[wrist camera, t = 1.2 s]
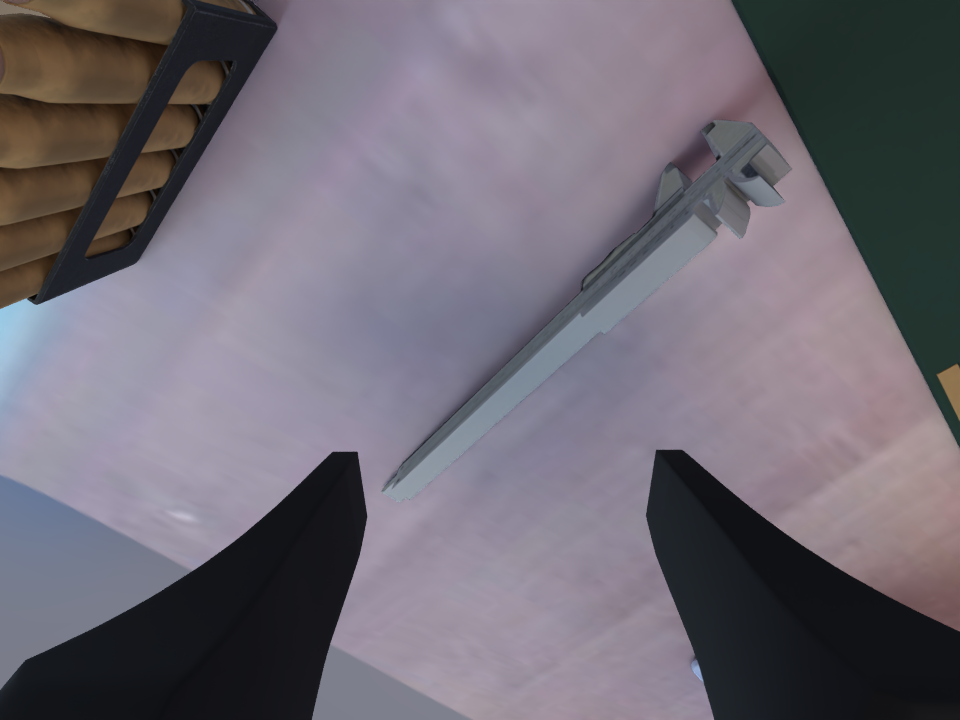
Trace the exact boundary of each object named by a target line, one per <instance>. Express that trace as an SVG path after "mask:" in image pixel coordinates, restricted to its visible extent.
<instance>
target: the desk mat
mask: <svg viewBox="0 0 960 720" xmlns="http://www.w3.org/2000/svg"><path fill="white" fill-rule="evenodd" d="M732 2H733V4H734V6H735V8H736V10H737V12H738V14H739V16H740V18H741V20H742V22H743V24H744V26H745V28H746V30H747V32H748V33H749V35H750V37H751V39H752V41H753V43H754V45H755V47H756V49H757V51H758V53H759V55H760V57H761V59H762V61H763V63H764V65H765V67H766V69H767V71H768V73H769V75H770V77H771V78H772V80H773V82H774V84H775V86H776V88H777V90H778V92H779V94H780V96H781V98H782V100H783V102H784V104H785V106H786V108H787V110H788V112H789V114H790V116H791V118H792V120H793V122H794V124H795V125H796V127H797V129H798V131H799V133H800V135H801V137H802V139H803V141H804V143H805V145H806V147H807V149H808V151H809V153H810V155H811V157H812V159H813V161H814V163H815V165H816V167H817V169H818V171H819V172H820V174H821V176H822V178H823V180H824V182H825V184H826V186H827V188H828V190H829V192H830V194H831V196H832V198H833V200H834V202H835V204H836V206H837V208H838V210H839V212H840V214H841V216H842V217H843V219H844V221H845V223H846V225H847V227H848V229H849V231H850V233H851V235H852V237H853V239H854V241H855V243H856V245H857V247H858V249H859V251H860V253H861V255H862V257H863V259H864V261H865V263H866V264H867V266H868V268H869V270H870V272H871V274H872V276H873V278H874V280H875V282H876V284H877V286H878V288H879V290H880V292H881V294H882V296H883V298H884V300H885V302H886V304H887V306H888V308H889V310H890V311H891V313H892V315H893V317H894V319H895V321H896V323H897V325H898V327H899V329H900V331H901V333H902V335H903V337H904V339H905V341H906V343H907V345H908V347H909V349H910V351H911V353H912V355H913V356H914V358H915V360H916V362H917V364H918V366H919V368H920V370H921V372H922V374H923V376H924V378H925V380H926V382H927V384H928V386H929V388H930V390H931V392H932V394H933V396H934V398H935V400H936V402H937V403H938V405H939V407H940V409H941V411H942V413H943V415H944V417H945V419H946V421H947V423H948V425H949V427H950V429H951V431H952V433H953V435H954V437H955V439H956V441H957V443H958V445H959V447H960V0H732Z"/></svg>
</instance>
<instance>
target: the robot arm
mask: <svg viewBox="0 0 960 720" xmlns="http://www.w3.org/2000/svg"><path fill="white" fill-rule="evenodd" d="M646 518H647V522H648V526H649V530H650V534H651V538H652V542H653V546H654V549H655V553H656V556H657V559H658V562H659V564H660V567H661V569H662V572H663V574H664V577H665V580H666V582H667V585H668V587H669V590H670V592H671V595H672V597H673V600H674V602H675V605H676V607H677V610H678V612H679V615H680V617H681V620H682V622H683V625H684V627H685V630H686V632H687V635H688V637H689V640H690V642H691V645H692V647H693V650H694V653H695V656H696V660H694V661H693V662H692V664H691V667H692V670H693V672H694V673H695V674H696V675H697V676H698V678H699V679H700V680H701V681H702V682H703V683H704V685H705V688H706V692H707V695H708V699H709V702H710V705H711V709H712V712H713V716H714V720H960V632H959V631H957V630H955V629H953V628H951V627H948V626H946V625H944V624H942V623H940V622H938V621H936V620H934V619H932V618H930V617H928V616H925V615H923V614H921V613H919V612H917V611H915V610H913V609H911V608H909V607H907V606H905V605H903V604H901V603H899V602H897V601H895V600H894V599H892V598H890V597H888V596H886V595H884V594H882V593H881V592H879V591H877V590H875V589H873V588H872V587H870V586H868V585H866V584H864V583H863V582H861V581H859V580H857V579H855V578H854V577H852V576H850V575H848V574H847V573H845V572H843V571H842V570H840V569H838V568H837V567H835V566H833V565H832V564H830V563H829V562H827V561H826V560H824V559H822V558H821V557H819V556H818V555H816V554H815V553H813V552H812V551H810V550H808V549H807V548H805V547H804V546H802V545H801V544H799V543H798V542H796V541H795V540H794V539H792V538H791V537H789V536H788V535H786V534H785V533H784V532H782V531H781V530H780V529H778V528H777V527H776V526H774V525H773V524H772V523H770V522H769V521H767V520H766V519H765V518H763V517H762V516H761V515H760V514H758V513H757V512H756V511H754V510H753V509H752V508H751V507H749V506H748V505H747V504H746V503H744V502H743V501H742V500H741V499H740V498H738V497H737V496H736V495H735V494H733V493H732V492H731V491H730V490H729V489H727V488H726V487H725V486H724V485H723V484H722V483H720V482H719V481H718V480H717V479H716V478H715V477H713V476H712V475H711V474H710V473H709V472H708V471H706V470H705V469H704V468H703V467H702V466H701V465H700V464H698V463H697V462H696V461H695V460H694V459H693V458H691V457H690V456H689V455H688V454H687V453H685V452H684V451H683V450H656V454H655V461H654V467H653V474H652V480H651V487H650V493H649V500H648V506H647V513H646ZM366 521H367V511H366V505H365V498H364V492H363V485H362V479H361V472H360V465H359V459H358V452H332V453H331V454H330V455H329V456H328V457H327V458H326V459H325V460H324V461H323V462H322V463H321V464H320V465H318V466H317V467H316V468H315V469H314V470H313V471H312V472H311V473H310V474H309V475H308V476H307V477H306V478H305V479H304V480H303V481H302V482H301V483H300V484H299V485H298V486H297V487H296V488H295V489H294V490H293V491H292V492H291V493H290V494H289V495H288V496H286V497H285V498H284V499H283V500H282V501H281V502H280V503H279V504H278V505H277V506H276V507H275V508H274V509H272V510H271V511H270V512H269V513H268V514H267V515H265V516H264V517H263V518H262V519H261V520H260V521H258V522H257V523H256V524H255V525H254V526H253V527H251V528H250V529H249V530H248V531H247V532H246V533H244V534H243V535H242V536H241V537H239V538H238V539H237V540H236V541H234V542H233V543H232V544H230V545H229V546H228V547H226V548H225V549H224V550H222V551H221V552H219V553H218V554H217V555H215V556H214V557H213V558H211V559H210V560H208V561H207V562H206V563H204V564H203V565H201V566H200V567H198V568H197V569H195V570H194V571H192V572H190V573H189V574H187V575H186V576H184V577H183V578H181V579H180V580H178V581H176V582H175V583H173V584H172V585H170V586H169V587H167V588H165V589H164V590H162V591H161V592H159V593H157V594H156V595H154V596H152V597H151V598H149V599H147V600H145V601H144V602H142V603H140V604H138V605H137V606H135V607H133V608H131V609H129V610H127V611H126V612H124V613H122V614H120V615H118V616H116V617H114V618H113V619H111V620H109V621H107V622H105V623H103V624H101V625H99V626H98V627H95V628H93V629H91V630H89V631H88V632H85V633H83V634H81V635H79V636H77V637H74V638H72V639H70V640H68V641H66V642H64V643H62V644H60V645H58V646H55V647H54V648H51V649H49V650H47V651H45V652H43V653H41V654H38V655H36V656H34V657H32V658H30V659H27V660H25V662H24V663H23V664H22V665H21V666H20V667H19V668H18V670H17V671H16V672H15V673H14V674H13V675H12V677H11V678H10V679H9V680H8V682H7V683H6V684H5V685H4V686H3V688H2V689H1V690H0V720H312V716H313V711H314V706H315V702H316V698H317V694H318V689H319V685H320V680H321V676H322V672H323V668H324V663H325V660H326V656H327V653H328V650H329V646H330V643H331V640H332V637H333V634H334V631H335V628H336V625H337V622H338V619H339V616H340V613H341V610H342V607H343V604H344V601H345V598H346V595H347V592H348V589H349V586H350V583H351V580H352V577H353V574H354V571H355V568H356V565H357V562H358V559H359V556H360V551H361V546H362V542H363V537H364V531H365V526H366Z"/></svg>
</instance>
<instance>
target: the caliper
mask: <svg viewBox="0 0 960 720" xmlns="http://www.w3.org/2000/svg"><path fill="white" fill-rule="evenodd" d="M701 133H702V134H703V135H704V137H705V138H706V140H707V142H708V144H709V146H710V148H711V150H712V152H713V154H714V156H715V158H716V160H717V162H716V163H715V164H713V165H712V166H711V167H710V168H709V169H708V170H707V171H706V172H705V173H704V174H703V175H701V176H700V177H699V178H698V179H697V180H696V181H695V182H694V183H692V181H691V180H690V179H689V178H688V177H687V176H686V175H684V174H683V173H682V172H681V171H680V170H679V169H678V168H677V167H676V166H675V165H674V164H673V163H671V162H670V163H669V164H668V165H667V167H666V168H665V170H664V172H663V174H662V176H661V179H660V184H659V188H658V193H657V198H656V202H655V207H654V212H653V216H652V218H651V219H650V220H649V221H648V222H647V223H646V224H645V225H644V226H643V227H642V228H641V229H640V230H639V231H638V232H637V233H634V234H632V235H631V236H630V237H629V238H627V239H626V240H625V241H623V242H622V243H621V244H620V245H618V246H617V247H616V248H614V249H613V250H612V251H611V252H610V253H609V255H608V256H607V257H606V258H605V259H604V261H603V262H602V263H601V264H600V265H599V266H597V267H596V268H595V269H594V270H592V271H591V272H590V273H589V274H588V275H587V276H585V278H584V279H583V280H582V282H581V292H580V293H579V294H578V295H577V296H576V297H575V298H574V299H573V300H572V301H571V302H570V303H569V304H568V305H567V306H566V307H565V308H564V309H562V310H561V311H560V312H559V313H558V314H557V315H556V316H555V317H554V318H553V319H552V320H551V321H550V322H549V323H548V324H547V325H546V326H545V327H544V328H543V329H542V330H541V331H540V332H539V333H538V334H537V335H536V336H535V337H534V338H533V339H532V340H531V341H529V342H528V343H527V344H526V345H525V346H524V347H523V348H522V349H521V350H520V351H519V352H518V353H517V354H516V355H515V356H514V357H513V358H512V359H511V360H510V361H509V362H508V363H507V364H506V365H505V366H504V367H503V368H502V369H501V370H500V371H499V372H498V373H496V374H495V375H494V376H493V377H492V378H491V379H490V380H489V381H488V382H487V383H486V384H485V385H484V386H483V387H482V388H481V389H480V390H479V391H478V392H477V393H476V394H475V395H474V396H473V397H472V398H471V399H470V400H469V401H467V402H466V403H465V404H464V405H463V406H462V407H461V408H460V409H459V410H458V411H457V412H456V413H455V414H454V415H453V416H452V417H451V418H450V419H449V420H448V421H447V422H446V423H445V424H444V425H443V426H441V427H440V428H439V429H438V430H437V431H436V432H435V433H434V434H433V435H432V436H431V437H430V438H429V439H428V440H427V441H426V442H425V443H424V444H423V445H422V446H421V447H420V448H419V449H418V450H417V451H415V452H414V453H413V454H412V455H411V456H410V457H409V458H408V459H407V460H406V461H405V462H404V463H403V464H402V465H401V466H400V468H399V470H398V473H397V475H396V476H395V477H394V478H393V479H392V480H391V481H390V482H389V483H388V484H387V485H386V486H385V487H384V488H383V489H382V491H381V492H382V493H384V494H385V495H387V496H389V497H390V498H392V499H394V500H395V501H397V502H401V501H403V500H404V499H405V498H407V499H409V500H410V499H412V498H413V497H414V496H415V495H416V494H417V493H418V492H420V491H421V490H422V489H423V488H424V487H425V486H426V485H427V484H429V483H430V482H431V481H432V480H433V479H434V478H435V477H437V476H438V475H439V474H440V473H441V472H442V471H443V470H444V469H446V468H447V467H448V466H449V465H450V464H451V463H452V462H453V461H455V460H456V459H457V458H458V457H459V456H460V455H461V454H463V453H464V452H465V451H466V450H467V449H468V448H469V447H470V446H472V445H473V444H474V443H475V442H476V441H477V440H478V439H479V438H481V437H482V436H483V435H484V434H485V433H486V432H487V431H488V430H490V429H491V428H492V427H493V426H494V425H495V424H496V423H497V422H499V421H500V420H501V419H502V418H503V417H504V416H505V415H506V414H508V413H509V412H510V411H511V410H512V409H513V408H514V407H515V406H517V405H518V404H519V403H520V402H521V401H522V400H523V399H524V398H526V397H527V396H528V395H529V394H530V393H531V392H532V391H533V390H535V389H536V388H537V387H538V386H539V385H540V384H541V383H542V382H544V381H545V380H546V379H547V378H548V377H549V376H550V375H551V374H553V373H554V372H555V371H556V370H557V369H558V368H559V367H560V366H562V365H563V364H564V363H565V362H566V361H567V360H568V359H569V358H571V357H572V356H573V355H574V354H575V353H576V352H577V351H578V350H580V349H581V348H582V347H583V346H584V345H585V344H586V343H587V342H589V341H590V340H591V339H592V338H593V337H594V336H595V335H596V334H598V333H599V332H602V333H603V334H604V335H605V334H606V333H607V332H608V331H609V330H610V329H612V328H613V327H614V326H615V325H616V324H617V323H618V322H620V321H621V320H622V319H623V318H624V317H625V316H627V315H628V314H629V313H630V312H631V311H632V310H633V309H635V308H636V307H637V306H638V305H639V304H640V303H642V302H643V301H644V300H645V299H646V298H647V297H649V296H650V295H651V294H652V293H653V292H654V291H655V290H657V289H658V288H659V287H660V286H661V285H662V284H664V283H665V282H666V281H667V280H668V279H669V278H670V277H672V276H673V275H674V274H675V273H676V272H677V271H679V270H680V269H681V268H682V267H683V266H684V265H685V264H687V263H688V262H689V261H690V260H691V259H692V258H694V257H695V256H696V255H697V254H698V253H699V252H700V251H702V250H703V249H704V248H705V247H706V246H707V245H709V244H710V243H711V242H712V241H713V240H714V239H715V238H716V237H717V232H716V231H715V230H716V229H717V228H718V227H719V226H720V225H721V224H722V223H723V224H724V225H725V226H726V227H727V228H729V229H730V230H731V231H732V232H733V233H734V234H735V235H736V236H737V237H738V238H739V239H740V238H743V236H744V234H745V232H746V229H747V225H748V222H749V218H750V208H749V206H748V204H747V202H748V201H749V200H751V201H752V202H753V203H754V204H755V205H757V206H765V207H771V206H778V205H780V204H782V203H784V202H785V201H784V199H783V198H782V197H781V196H780V195H779V193H778V192H777V191H776V190H775V189H774V187H773V186H774V185H775V184H776V183H777V182H778V181H779V180H780V179H781V178H783V177H784V176H785V175H786V174H787V173H788V172H789V171H790V170H791V169H792V168H791V167H790V166H789V164H788V163H787V162H786V160H785V159H784V158H783V157H782V155H781V154H780V153H779V151H778V150H777V149H776V148H775V146H774V145H773V144H772V143H771V142H770V141H769V140H768V139H767V138H766V137H765V136H764V135H763V134H762V133H761V132H760V131H759V130H758V129H757V128H756V127H755V126H754V125H753V124H752V123H749V122H739V121H729V120H714V121H713V122H711V123H710V124H709V125H707V126H706V127H705V128H704V129H703V130H702V131H701Z"/></svg>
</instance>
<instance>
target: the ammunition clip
mask: <svg viewBox="0 0 960 720" xmlns="http://www.w3.org/2000/svg"><path fill="white" fill-rule="evenodd" d="M2 1H3V2H5V3H7V4H10V5H14V6H18V7H22V8H25V9H29V10H33V11H37V12H40V13H42V14H44V15H46V16H48V17H50V18H47V17H42V16H36V15H31V14H22V13H19V14H7V15H0V309H1V308H4V307H6V306H9V305H11V304H13V303H16V302H18V301H21V300H23V299H26V298H27V300H29V301H30V302H32V303H33V304H36V305H38V304H41V303H43V302H45V301H48V300H50V299H53V298H55V297H57V296H60V295H62V294H64V293H67V292H69V291H72V290H74V289H76V288H79V287H81V286H83V285H86V284H88V283H91V282H93V281H95V280H98V279H100V278H102V277H105V276H107V275H110V274H112V273H114V272H117V271H119V270H121V269H124V268H126V267H129V266H131V265H133V264H135V263H136V262H137V261H138V260H139V258H140V256H141V255H142V253H143V251H144V250H145V248H146V246H147V245H148V243H149V241H150V240H151V238H152V236H153V235H154V233H155V231H156V230H157V228H158V226H159V225H160V223H161V221H162V220H163V218H164V216H165V215H166V213H167V211H168V210H169V208H170V206H171V205H172V203H173V201H174V200H175V198H176V196H177V195H178V193H179V191H180V190H181V188H182V186H183V185H184V183H185V181H186V180H187V178H188V176H189V175H190V173H191V171H192V170H193V168H194V166H195V165H196V163H197V161H198V160H199V158H200V156H201V155H202V153H203V151H204V150H205V148H206V146H207V145H208V143H209V141H210V140H211V138H212V136H213V135H214V133H215V131H216V130H217V128H218V126H219V125H220V123H221V121H222V120H223V118H224V116H225V115H226V113H227V111H228V110H229V108H230V106H231V105H232V103H233V101H234V100H235V98H236V96H237V95H238V93H239V91H240V90H241V88H242V86H243V85H244V83H245V81H246V80H247V78H248V76H249V75H250V73H251V71H252V70H253V68H254V66H255V65H256V63H257V61H258V60H259V58H260V56H261V55H262V53H263V51H264V50H265V48H266V46H267V45H268V43H269V41H270V40H271V38H272V36H273V35H274V33H275V32H276V30H277V27H276V24H275V23H274V22H273V21H272V20H271V19H270V18H269V17H268V16H267V15H266V14H265V13H263V12H262V11H261V10H260V9H259V8H258V7H257V6H256V5H255V4H254V3H252V2H251V1H250V0H2Z"/></svg>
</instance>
